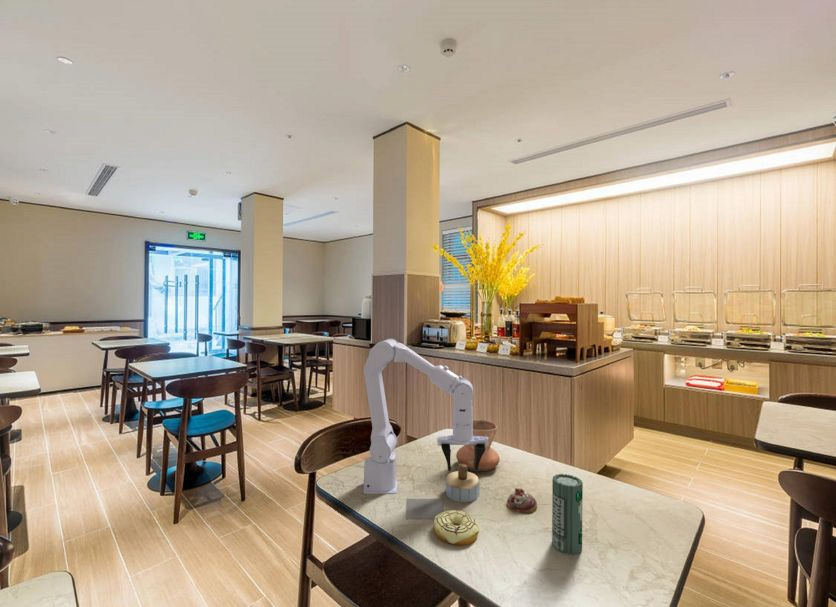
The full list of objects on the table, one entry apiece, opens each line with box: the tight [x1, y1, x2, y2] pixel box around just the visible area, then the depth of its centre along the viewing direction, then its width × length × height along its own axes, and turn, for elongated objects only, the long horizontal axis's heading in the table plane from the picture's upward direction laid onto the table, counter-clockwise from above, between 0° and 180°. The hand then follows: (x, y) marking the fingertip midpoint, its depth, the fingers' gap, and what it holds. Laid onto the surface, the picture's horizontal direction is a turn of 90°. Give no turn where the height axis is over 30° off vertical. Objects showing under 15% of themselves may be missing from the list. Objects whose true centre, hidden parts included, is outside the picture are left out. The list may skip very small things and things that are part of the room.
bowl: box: [445, 477, 480, 503], centre depth 110 cm, size 9×9×4 cm
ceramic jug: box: [455, 418, 500, 472], centre depth 130 cm, size 18×14×14 cm
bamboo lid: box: [446, 463, 479, 489], centre depth 110 cm, size 9×9×4 cm
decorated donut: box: [433, 509, 480, 546], centre depth 91 cm, size 10×11×4 cm
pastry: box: [506, 487, 538, 514], centre depth 104 cm, size 8×8×5 cm
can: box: [551, 473, 584, 556], centre depth 87 cm, size 6×6×15 cm
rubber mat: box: [405, 498, 445, 520], centre depth 102 cm, size 10×10×1 cm
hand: (462, 469), depth 110 cm, fingers open, 7 cm apart
